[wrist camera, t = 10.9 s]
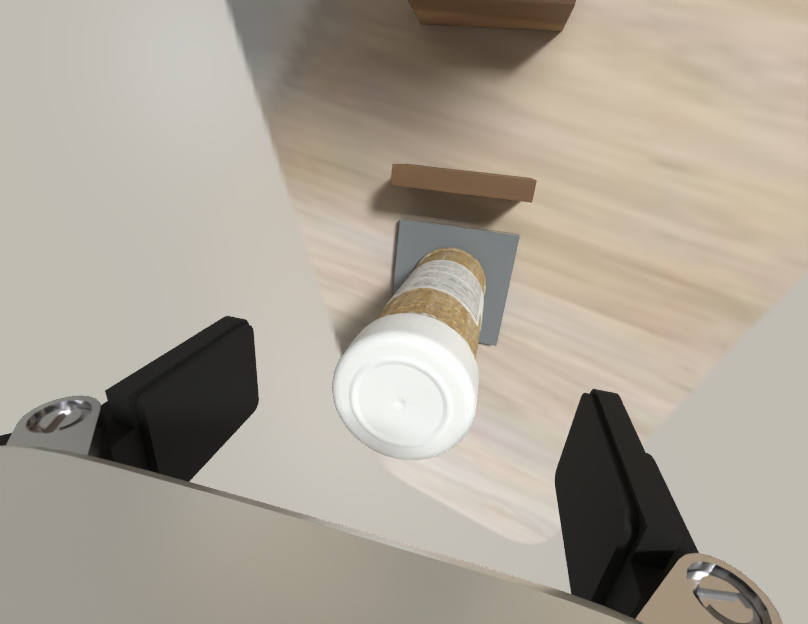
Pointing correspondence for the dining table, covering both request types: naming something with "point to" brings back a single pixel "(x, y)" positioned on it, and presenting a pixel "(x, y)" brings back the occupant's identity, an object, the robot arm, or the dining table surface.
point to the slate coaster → (482, 244)
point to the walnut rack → (498, 8)
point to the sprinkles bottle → (417, 362)
